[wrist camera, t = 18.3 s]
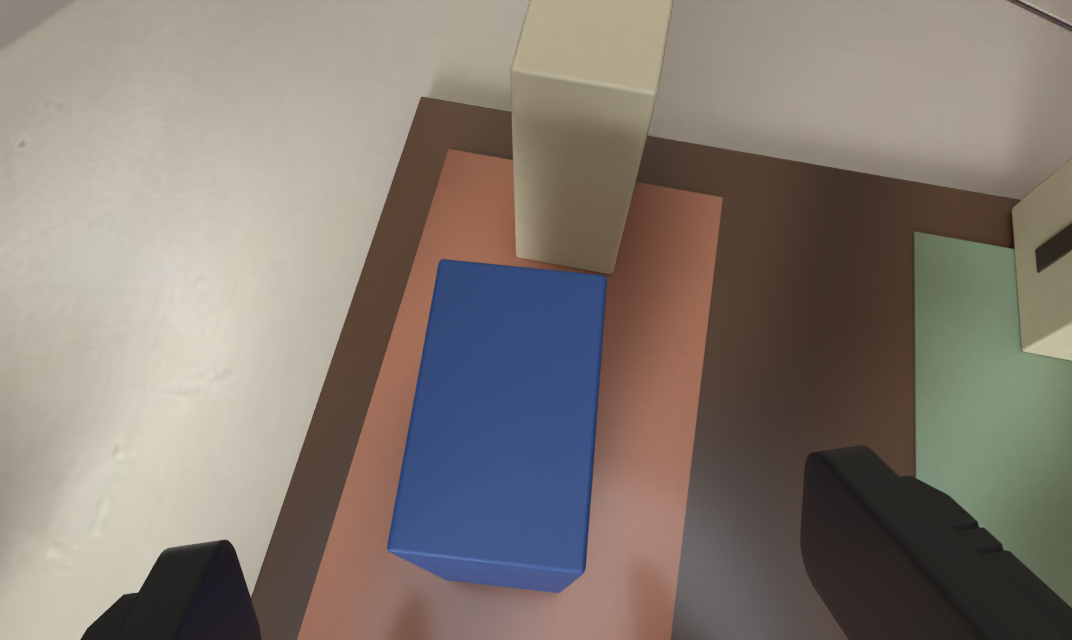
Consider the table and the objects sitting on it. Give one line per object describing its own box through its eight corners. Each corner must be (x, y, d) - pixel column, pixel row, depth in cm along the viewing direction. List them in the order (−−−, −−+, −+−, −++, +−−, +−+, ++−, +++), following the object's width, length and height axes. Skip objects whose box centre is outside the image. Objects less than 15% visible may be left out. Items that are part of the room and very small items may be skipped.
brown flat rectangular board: (1201, 242, 23) (1221, 231, 22) (1355, 1045, 15) (1392, 1064, 14) (423, 107, 25) (420, 93, 24) (203, 762, 17) (190, 768, 16)
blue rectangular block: (579, 403, 20) (610, 273, 12) (563, 593, 18) (588, 575, 10) (470, 391, 20) (435, 256, 12) (441, 579, 18) (381, 551, 10)
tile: (638, 143, 23) (689, -78, 16) (614, 276, 21) (660, 94, 14) (545, 127, 23) (553, -99, 16) (513, 257, 21) (507, 69, 14)
